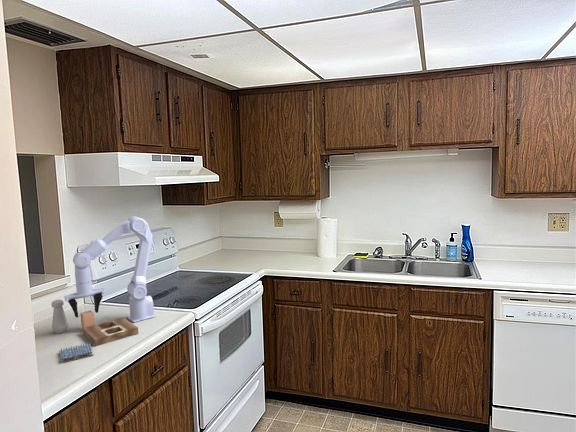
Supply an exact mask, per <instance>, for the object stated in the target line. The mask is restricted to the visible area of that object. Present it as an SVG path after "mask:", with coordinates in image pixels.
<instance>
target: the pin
mask: <svg viewBox="0 0 576 432" xmlns="http://www.w3.org/2000/svg"><path fill="white" fill-rule="evenodd" d="M94 314H95V313H94V312H93V311H92V310H87V311H83V312H80V314H79V316H80V323H81V330H82V331H83V328H85V327H89V326H93V325H96V324H95V315H94Z"/></svg>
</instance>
